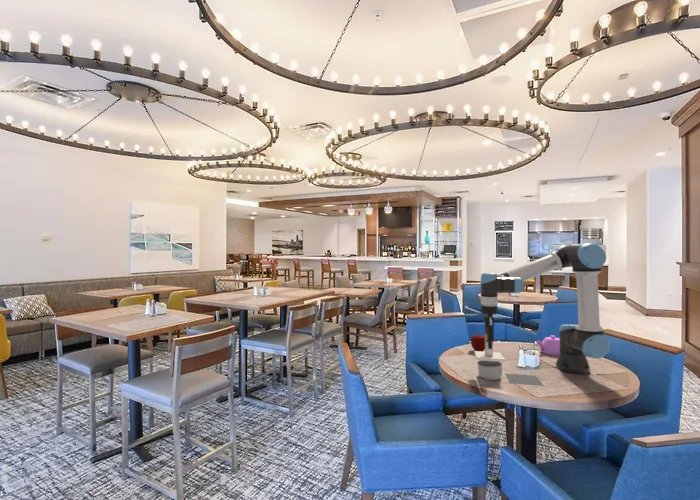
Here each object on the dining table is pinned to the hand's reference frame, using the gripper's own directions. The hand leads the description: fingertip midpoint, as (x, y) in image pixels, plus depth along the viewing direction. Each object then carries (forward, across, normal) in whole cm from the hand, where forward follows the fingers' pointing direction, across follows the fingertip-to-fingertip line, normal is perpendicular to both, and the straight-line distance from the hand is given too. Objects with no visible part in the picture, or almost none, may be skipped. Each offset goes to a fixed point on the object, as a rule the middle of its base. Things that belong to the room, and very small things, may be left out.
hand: (489, 354), depth 178 cm
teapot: (+12, -55, +43) cm, 71 cm away
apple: (+12, -50, +1) cm, 51 cm away
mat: (+12, +1, +15) cm, 19 cm away
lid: (+2, 0, 0) cm, 2 cm away
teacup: (+12, 0, 0) cm, 12 cm away
